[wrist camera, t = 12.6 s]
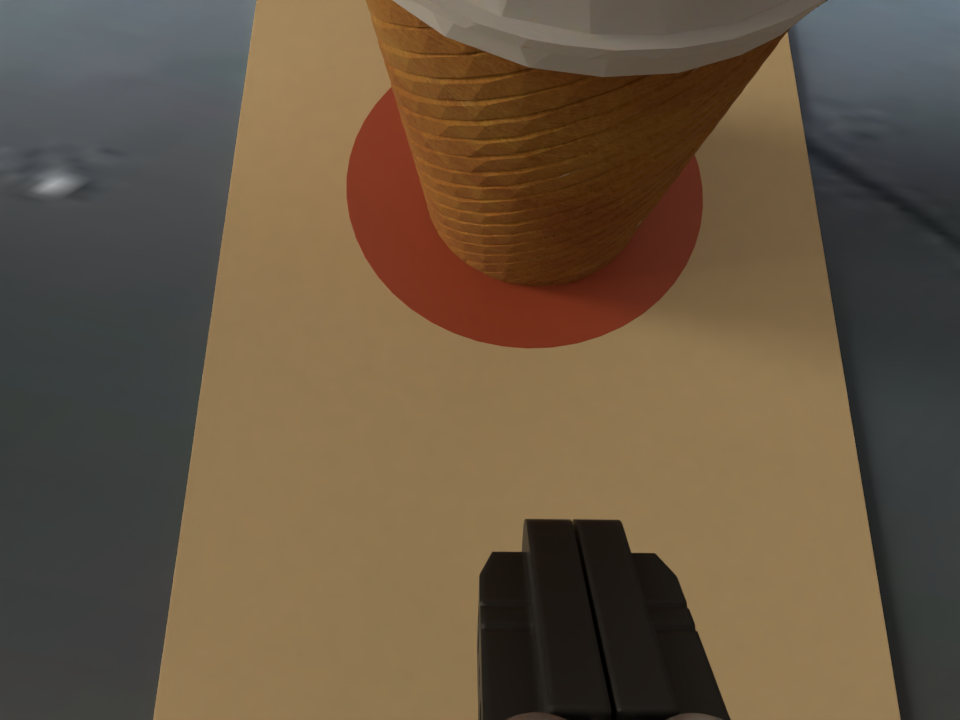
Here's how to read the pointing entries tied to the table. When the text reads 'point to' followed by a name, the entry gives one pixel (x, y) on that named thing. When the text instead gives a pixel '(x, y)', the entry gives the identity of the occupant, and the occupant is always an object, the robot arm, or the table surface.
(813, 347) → the placemat
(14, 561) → the table surface
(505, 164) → the disposable coffee cup
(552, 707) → the robot arm
